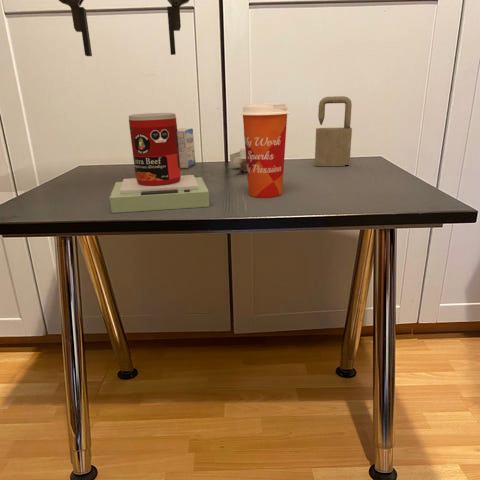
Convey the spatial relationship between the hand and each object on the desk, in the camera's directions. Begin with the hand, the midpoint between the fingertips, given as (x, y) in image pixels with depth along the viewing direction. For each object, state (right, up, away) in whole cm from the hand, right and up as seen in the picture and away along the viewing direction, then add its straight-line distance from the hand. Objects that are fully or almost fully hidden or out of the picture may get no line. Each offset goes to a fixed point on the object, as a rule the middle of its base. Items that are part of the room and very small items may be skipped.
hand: (131, 55), depth 79 cm
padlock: (+40, -6, +37) cm, 55 cm away
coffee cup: (+23, -21, +9) cm, 32 cm away
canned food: (+4, -19, +6) cm, 20 cm away
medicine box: (+4, -5, +42) cm, 43 cm away
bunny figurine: (+20, -9, +33) cm, 40 cm away
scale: (+4, -22, +7) cm, 23 cm away
